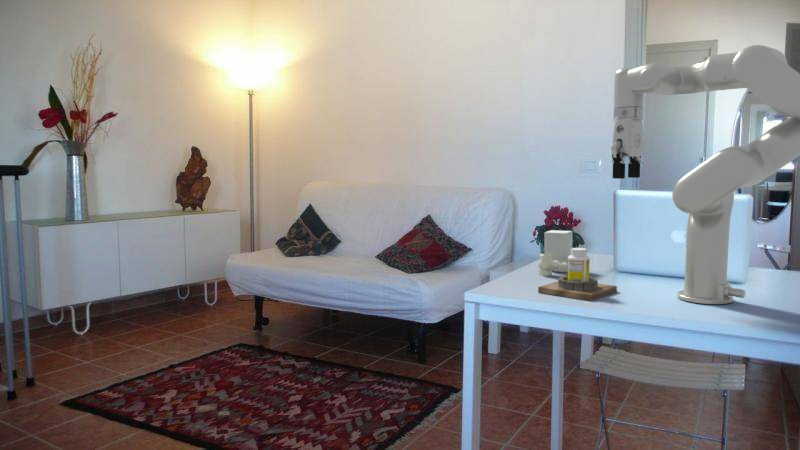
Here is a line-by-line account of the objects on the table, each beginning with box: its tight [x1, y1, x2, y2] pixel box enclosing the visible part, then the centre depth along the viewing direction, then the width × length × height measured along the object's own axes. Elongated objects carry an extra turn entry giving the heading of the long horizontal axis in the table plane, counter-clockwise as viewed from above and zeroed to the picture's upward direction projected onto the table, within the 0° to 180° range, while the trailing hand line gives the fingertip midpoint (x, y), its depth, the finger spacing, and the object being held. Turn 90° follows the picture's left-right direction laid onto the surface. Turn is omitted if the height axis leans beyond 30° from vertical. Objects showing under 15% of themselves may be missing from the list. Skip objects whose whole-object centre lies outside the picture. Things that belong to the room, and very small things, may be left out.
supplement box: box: [543, 229, 573, 273], centre depth 198 cm, size 7×7×13 cm
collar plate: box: [537, 275, 618, 302], centre depth 164 cm, size 15×15×4 cm
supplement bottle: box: [567, 247, 591, 282], centre depth 164 cm, size 6×6×10 cm
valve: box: [538, 253, 568, 277], centre depth 188 cm, size 7×7×12 cm
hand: (626, 178), depth 168 cm, fingers open, 9 cm apart
